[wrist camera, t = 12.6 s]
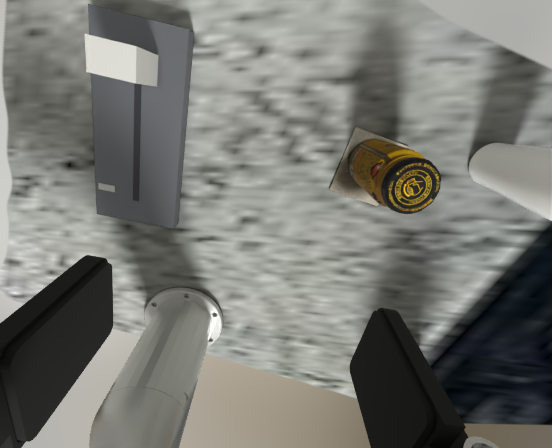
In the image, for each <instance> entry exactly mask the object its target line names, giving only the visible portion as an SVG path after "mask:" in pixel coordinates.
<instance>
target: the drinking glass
mask: <svg viewBox="0 0 552 448" xmlns="http://www.w3.org/2000/svg"><path fill="white" fill-rule="evenodd" d="M469 174H470V177H471V178H472V179H473V180H474V181H475V182H476V183H478V184H481V185H483V186H486V187H488V188H490V189H491V190H493V191H495V192H497V193H499V194H501V195H503V196H504V197H506V198H508V199H510V200H512V201H514V202H515V203H517V204H519V205H521V206H523V207H525V208H526V209H528V210H530V211H532V212H534V213H536V214H538V215H540V216H542V217H544V218H546V219H548V220H550V221H552V147H541V146H525V145H511V144H505V143H491V144H488V145H485V146H484V147H482V148H480V149H479V150H478V151H477V152H476V153H475V154H474V155H473V157H472V158H471V160H470V163H469Z"/></svg>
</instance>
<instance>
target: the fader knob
mask: <svg viewBox="0 0 552 448" xmlns="http://www.w3.org/2000/svg"><path fill="white" fill-rule="evenodd" d="M85 51H86V72H89V73H93V74H97V75H101V76H106V77H110V78H114V79H119V80H123V81H127V82H131V83H136V84H143V85H149V86H156V87H157V76H158V55H156V54H154V53H151V52H149V51H146V50H144V49H142V48H139V47H137V46H133V45H129V44H125V43H121V42H117V41H113V40H108V39H104V38H100V37H96V36H92V35H88V34H85Z"/></svg>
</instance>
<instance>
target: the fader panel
mask: <svg viewBox="0 0 552 448" xmlns="http://www.w3.org/2000/svg"><path fill="white" fill-rule="evenodd" d="M88 12H89V35H92V36H96V37H100V38H104V39H108V40H113V41H117V42H121V43H125V44H129V45H133V46H137V47H139V48H142V49H144V50H146V51H149V52H151V53H154V54H156V55H158V76H157V87H156V86H149V85H143V84H136V83H131V82H127V81H123V80H119V79H114V78H110V77H106V76H101V75H97V74H93V73H91V85H92V109H93V133H94V157H95V182H96V206H97V214H99V215H104V216H110V217H115V218H120V219H125V220H130V221H136V222H141V223H146V224H151V225H156V226H162V227H167V228H172V229H174V227H175V226H176V225H177V224H178V219H179V207H180V195H181V184H182V172H183V160H184V148H185V137H186V125H187V113H188V101H189V90H190V78H191V66H192V54H193V42H194V33H193V32H191V31H190V30H189V29H185V28H181V27H177V26H174V25H170V24H166V23H162V22H158V21H154V20H150V19H146V18H142V17H138V16H134V15H130V14H126V13H122V12H119V11H115V10H111V9H107V8H103V7H99V6H95V5H91V4H88Z"/></svg>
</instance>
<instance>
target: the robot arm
mask: <svg viewBox="0 0 552 448" xmlns="http://www.w3.org/2000/svg"><path fill="white" fill-rule="evenodd" d="M144 321H145V325H146V329H145V330H144V332H143V334H142V336H141V337H140V339H139V341H138V343H137V344H136V346H135V348H134V349H133V351H132V353H131V355H130V356H129V358H128V360H127V361H126V363H125V365H124V367H123V368H122V370H121V372H120V373H119V375H118V377H117V379H116V381H115V382H114V384H113V385H112V387H111V389H110V391H109V393H108V394H107V396H106V398H105V399H104V401H103V403H102V405H101V406H100V408H99V410H98V412H97V414H96V416H95V419H94V421H93V424H92V428H91V433H90V444H89V445H90V446H89V447H90V448H179V446H180V442H181V438H182V435H183V431H184V427H185V424H186V420H187V416H188V413H189V409H190V405H191V402H192V399H193V395H194V391H195V388H196V385H197V381H198V377H199V374H200V370H201V367H202V363H203V360H204V356H205V353H206V349H207V347H208V346H210V345H211V344H213V343H214V342H215V341H216V340H217V339H218V337H219V336H220V334H221V331H222V326H223V316H222V313H221V310H220V308H219V307H218V305H217V304H216V303H215V302H214V301H213V300H212V299H211V298H210V297H208V296H207V295H205V294H203V293H202V292H199V291H196V290H194V289H189V288H170V289H167V290H164V291H162V292H160V293H158V294H157V295H155V296H154V297H153V298H152V299H151V301H150V302H149V303H148V305H147V307H146V309H145V313H144ZM112 327H113V289H112V265H111V264H109V263H108V262H107V259H105V258H101V257H95V256H90V255H86V256H84V257H83V258H82V259H80V260H79V261H78V262H77V263H75V264H74V265H73V266H72V267H70V268H69V269H68V270H67V271H65V272H64V273H63V274H62V275H60V276H59V277H58V278H57V279H55V280H54V281H53V282H52V283H50V284H49V285H48V286H47V287H45V288H44V289H43V290H42V291H40V292H39V293H38V294H37V295H35V296H34V297H33V298H32V299H30V300H29V301H28V302H27V303H25V304H24V305H23V306H22V307H20V308H19V309H18V310H16V311H15V312H14V313H13V314H11V315H10V316H9V317H8V318H7V319H5V320H4V321H3V322H1V323H0V448H21V447H22V446H23V444H24V443H25V442H26V441H31V440H33V439H34V438H35V437H36V436H37V434H38V433H39V432H40V430H41V428H42V427H43V426H44V425H45V423H46V422H47V420H48V419H49V418H50V416H51V415H52V414H53V412H54V411H55V409H56V408H57V406H58V405H59V404H60V402H61V401H62V400H63V398H64V397H65V396H66V394H67V393H68V391H69V390H70V389H71V387H72V386H73V384H74V383H75V382H76V380H77V379H78V377H79V376H80V375H81V373H82V372H83V371H84V369H85V368H86V366H87V365H88V363H89V362H90V361H91V359H92V358H93V357H94V355H95V354H96V352H97V351H98V350H99V348H100V347H101V345H102V344H103V343H104V341H105V340H106V339H107V337H108V336H109V334H110V332H111V330H112ZM350 374H351V377H352V381H353V384H354V388H355V392H356V395H357V399H358V402H359V406H360V409H361V413H362V417H363V420H364V424H365V428H366V431H367V434H368V439H369V442H370V446H371V448H499V447H498V446H497V445H495V444H493V443H492V442H490V441H488V440H486V439H483V438H480V437H472V436H471V437H470V438H468V436H467V434H466V433H465V431H464V429H465V426H464V423H463V422H462V420H461V418H460V417H459V415H458V413H457V411H456V410H455V408H454V406H453V405H452V403H451V401H450V400H449V398H448V396H447V394H446V393H445V391H444V389H443V388H442V386H441V384H440V383H439V381H438V379H437V377H436V376H435V374H434V372H433V371H432V369H431V367H430V366H429V364H428V362H427V360H426V359H425V357H424V355H423V354H422V352H421V350H420V348H419V347H418V345H417V343H416V342H415V340H414V338H413V337H412V335H411V333H410V331H409V330H408V328H407V326H406V325H405V323H404V321H403V320H402V318H401V316H400V314H399V313H398V312H397V311H396V310H391V309H385V308H379V309H378V311H374V312H373V314H372V316H371V318H370V320H369V322H368V325H367V327H366V329H365V331H364V333H363V336H362V338H361V340H360V342H359V344H358V347H357V349H356V351H355V353H354V355H353V358H352V360H351V363H350Z"/></svg>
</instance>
